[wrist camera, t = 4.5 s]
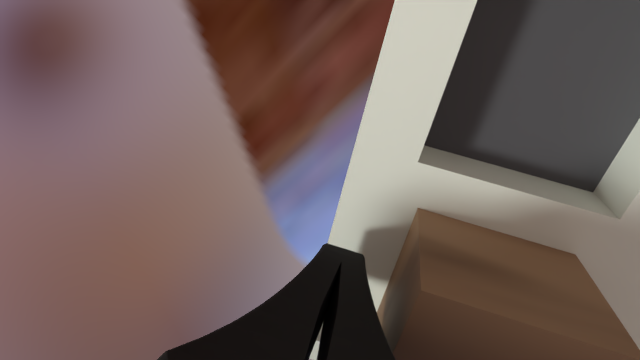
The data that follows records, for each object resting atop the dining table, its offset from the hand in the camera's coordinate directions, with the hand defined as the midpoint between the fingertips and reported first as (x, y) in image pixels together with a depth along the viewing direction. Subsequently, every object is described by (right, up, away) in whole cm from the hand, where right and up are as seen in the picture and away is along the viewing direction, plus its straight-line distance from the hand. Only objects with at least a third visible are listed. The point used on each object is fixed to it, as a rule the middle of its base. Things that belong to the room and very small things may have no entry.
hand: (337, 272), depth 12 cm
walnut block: (+4, -1, +1) cm, 5 cm away
